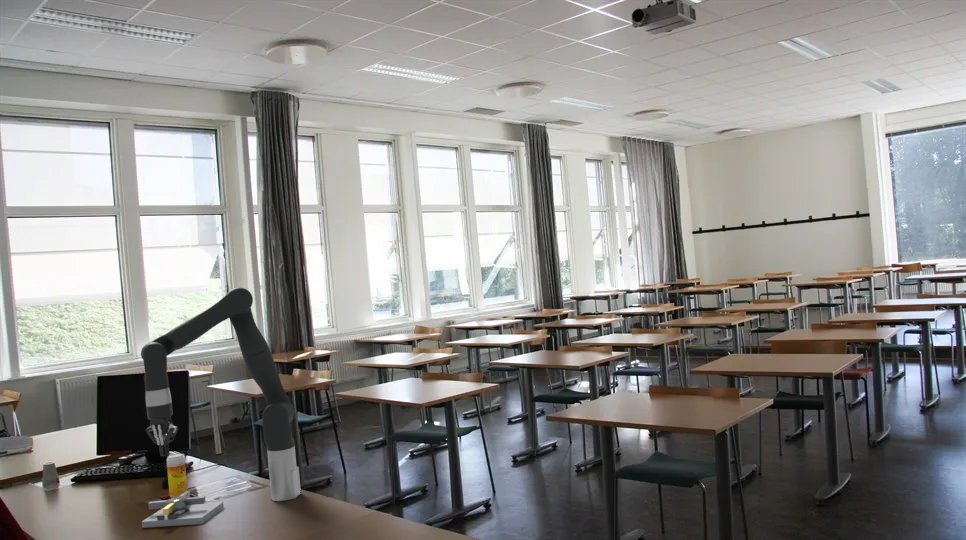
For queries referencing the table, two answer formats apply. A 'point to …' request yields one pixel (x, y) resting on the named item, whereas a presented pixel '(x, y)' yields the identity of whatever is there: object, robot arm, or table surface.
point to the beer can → (176, 475)
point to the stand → (184, 516)
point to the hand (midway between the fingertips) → (164, 455)
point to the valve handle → (177, 504)
